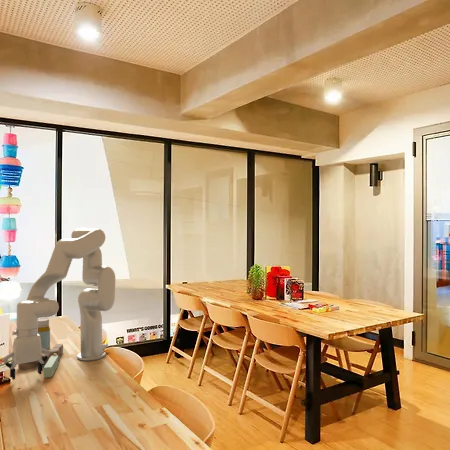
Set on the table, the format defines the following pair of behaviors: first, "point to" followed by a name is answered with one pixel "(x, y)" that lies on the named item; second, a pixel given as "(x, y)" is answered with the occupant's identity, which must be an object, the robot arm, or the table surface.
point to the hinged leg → (51, 366)
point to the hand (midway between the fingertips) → (26, 375)
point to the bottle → (44, 332)
